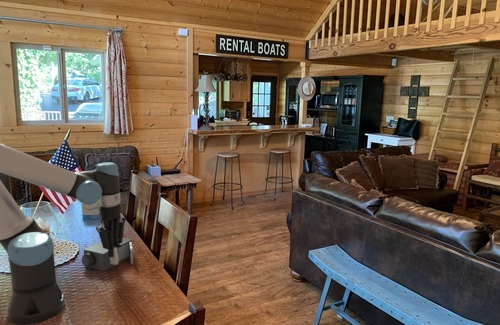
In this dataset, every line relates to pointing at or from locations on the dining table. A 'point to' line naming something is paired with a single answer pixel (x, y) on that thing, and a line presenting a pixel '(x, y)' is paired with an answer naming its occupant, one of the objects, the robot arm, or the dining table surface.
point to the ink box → (91, 211)
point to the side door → (131, 251)
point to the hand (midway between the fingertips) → (114, 263)
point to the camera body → (104, 255)
